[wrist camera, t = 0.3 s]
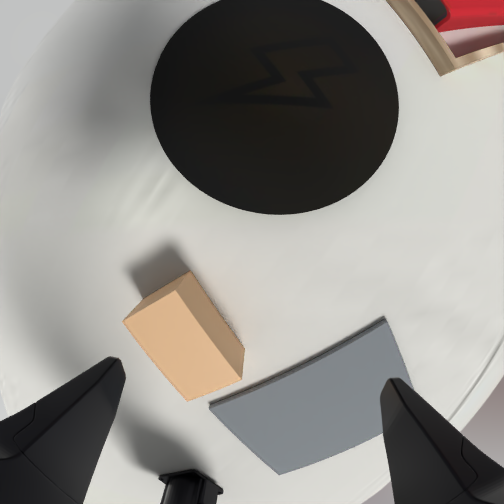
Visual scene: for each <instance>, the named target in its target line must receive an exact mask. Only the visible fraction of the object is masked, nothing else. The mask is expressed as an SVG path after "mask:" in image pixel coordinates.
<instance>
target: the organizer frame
mask: <svg viewBox="0 0 504 504" xmlns="http://www.w3.org/2000/svg"><path fill="white" fill-rule="evenodd" d="M386 1H387V2H388V3H389V4H390V6H391V7H392V8H393V9H394V10H395V12H396V13H397V14H398V15H399V17H400V18H401V19H402V21H403V22H404V23H405V24H406V26H407V27H408V28H409V30H410V31H411V32H412V34H413V35H414V37H415V38H416V39H417V41H418V42H419V44H420V45H421V47H422V48H423V50H424V51H425V53H426V54H427V56H428V57H429V59H430V60H431V62H432V63H433V65H434V67H435V68H436V70H437V72H438V73H439V75H440V76H442V75H445V74H447V73H450V72H452V71H455V70H457V69H459V68H462V67H464V66H467V65H470V64H472V63H475V62H477V61H480V60H483V59H485V58H488V57H491V56H494V55H496V54H499V53H502V52H504V42H503V43H500V44H497V45H494V46H490V47H487V48H484V49H481V50H478V51H475V52H472V53H469V54H466V55H464V56H461V57H458V58H455V56H454V55H453V53H452V52H451V50H450V48H449V47H448V45H447V44H446V42H445V41H444V39H443V38H442V36H441V35H440V34H439V32H438V31H437V29H436V28H435V26H434V25H433V24H432V22H431V21H430V20H429V18H428V17H427V16H426V14H425V13H424V12H423V11H422V9H421V8H420V7H419V5H418V4H417V3H416V2H415V1H414V0H386Z"/></svg>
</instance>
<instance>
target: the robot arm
mask: <svg viewBox="0 0 504 504" xmlns="http://www.w3.org/2000/svg"><path fill="white" fill-rule="evenodd" d="M125 380H126V375H125V371H124V368H123V365H122V362H121V360H120V359H119V358H115V357H107V358H105V359H104V360H102V361H101V362H99V363H98V364H96V365H94V366H93V367H91V368H90V369H88V370H86V371H85V372H83V373H82V374H80V375H78V376H77V377H75V378H74V379H72V380H70V381H69V382H67V383H66V384H64V385H62V386H61V387H59V388H58V389H56V390H54V391H53V392H51V393H50V394H48V395H46V396H45V397H43V398H41V399H40V400H38V401H37V402H36V403H33V404H32V405H30V406H28V407H27V408H25V409H23V410H21V411H20V412H18V413H16V414H14V415H12V416H10V417H8V418H6V419H4V420H2V421H0V504H83V502H84V499H85V496H86V493H87V490H88V487H89V484H90V481H91V479H92V476H93V473H94V470H95V468H96V465H97V462H98V459H99V457H100V454H101V452H102V449H103V446H104V444H105V441H106V439H107V436H108V433H109V431H110V428H111V426H112V423H113V421H114V418H115V416H116V412H117V409H118V405H119V401H120V398H121V394H122V391H123V387H124V384H125ZM380 406H381V416H382V428H383V437H384V443H385V448H386V453H387V459H388V464H389V470H390V476H391V482H392V488H393V495H394V502H395V504H504V468H503V467H502V466H500V465H499V464H497V463H496V462H495V461H494V460H492V459H491V458H489V457H488V456H486V454H484V453H483V452H482V451H480V450H479V449H478V448H477V447H476V446H475V445H473V444H472V443H471V442H470V441H469V440H468V439H467V438H466V437H464V436H463V435H462V434H461V433H460V432H459V431H458V430H457V429H456V428H455V427H454V426H453V425H451V424H450V423H449V422H448V421H447V420H446V419H445V418H444V417H443V416H442V415H441V414H439V413H438V412H437V411H436V410H435V409H434V408H433V407H432V406H431V405H430V404H429V403H427V402H426V401H425V400H424V399H423V398H422V397H421V396H420V395H419V394H418V393H417V392H415V391H414V390H413V389H412V388H411V387H410V386H409V385H408V384H407V383H406V382H404V381H403V380H402V379H401V378H399V377H393V378H388V379H387V381H386V383H385V385H384V387H383V390H382V392H381V394H380ZM158 479H159V480H160V481H162V482H163V483H164V484H166V486H165V489H164V493H163V496H162V500H161V503H160V504H216V502H217V495H220V494H223V490H222V489H221V488H219V487H218V486H216V485H215V484H214V483H212V482H211V481H210V480H208V479H207V478H206V477H204V476H203V475H202V474H200V473H199V472H198V471H196V470H188V471H183V472H178V473H172V474H166V475H160V476H159V478H158Z"/></svg>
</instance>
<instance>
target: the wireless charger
mask: <svg viewBox="0 0 504 504" xmlns="http://www.w3.org/2000/svg"><path fill="white" fill-rule="evenodd" d="M150 105H151V115H152V121H153V125H154V129H155V132H156V134H157V137H158V140H159V142H160V144H161V146H162V148H163V150H164V152H165V153H166V155H167V157H168V158H169V160H170V161H171V162H172V164H173V165H174V166H175V167H176V169H177V170H178V171H179V172H180V173H181V174H182V175H183V176H184V177H185V178H186V179H187V180H188V181H189V182H190V183H191V184H193V185H194V186H195V187H197V188H198V189H199V190H201V191H202V192H204V193H205V194H207V195H208V196H210V197H212V198H214V199H216V200H218V201H220V202H222V203H224V204H227V205H229V206H232V207H235V208H238V209H242V210H245V211H250V212H255V213H262V214H273V215H285V214H297V213H303V212H309V211H313V210H317V209H320V208H323V207H326V206H329V205H331V204H333V203H335V202H338V201H339V200H341V199H343V198H345V197H347V196H348V195H350V194H351V193H353V192H354V191H356V190H357V189H358V188H359V187H361V186H362V185H363V184H364V183H365V182H366V181H367V180H369V178H370V177H371V176H372V175H373V174H374V173H375V172H376V170H377V169H378V168H379V167H380V165H381V164H382V162H383V160H384V159H385V157H386V155H387V153H388V151H389V150H390V147H391V145H392V142H393V139H394V136H395V133H396V128H397V123H398V114H399V101H398V92H397V86H396V82H395V78H394V75H393V72H392V69H391V67H390V64H389V62H388V60H387V58H386V56H385V55H384V53H383V51H382V49H381V48H380V46H379V45H378V44H377V42H376V41H375V40H374V38H373V37H372V36H371V35H370V34H369V33H368V32H367V31H366V29H365V28H364V27H362V26H361V25H360V24H359V23H358V22H357V21H356V20H354V19H353V18H352V17H351V16H349V15H348V14H346V13H345V12H343V11H342V10H340V9H338V8H336V7H335V6H333V5H331V4H329V3H326V2H324V1H322V0H220V1H218V2H216V3H214V4H212V5H210V6H208V7H206V8H204V9H203V10H201V11H200V12H198V13H197V14H195V15H194V16H193V17H191V18H190V19H189V20H188V21H187V22H185V23H184V24H183V25H182V26H181V27H180V28H179V29H178V30H177V32H176V33H175V34H174V35H173V36H172V38H171V39H170V40H169V42H168V43H167V45H166V46H165V48H164V50H163V52H162V54H161V56H160V58H159V60H158V62H157V65H156V68H155V71H154V75H153V79H152V84H151V93H150Z"/></svg>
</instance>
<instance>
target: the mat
mask: <svg viewBox="0 0 504 504" xmlns="http://www.w3.org/2000/svg"><path fill="white" fill-rule="evenodd" d="M393 377H399V378H401V379H402V380H403V381H404V382H406V383H407V384H408V385H409V386H410V387H411V388H412V389H413V386H412V383H411V380H410V377H409V375H408V372H407V369H406V367H405V364H404V361H403V359H402V356H401V354H400V351H399V348H398V346H397V343H396V341H395V338H394V336H393V334H392V331H391V329H390V326H389V324H388V322H387V320H386V319H384V320H382V321H380V322H379V323H377V324H376V325H374V326H372V327H371V328H369V329H367V330H365V331H364V332H362V333H360V334H359V335H357V336H355V337H353V338H352V339H350V340H348V341H346V342H345V343H343V344H341V345H339V346H337V347H335V348H334V349H332V350H330V351H328V352H326V353H324V354H322V355H320V356H318V357H317V358H315V359H313V360H311V361H309V362H307V363H305V364H303V365H301V366H299V367H297V368H295V369H293V370H290V371H288V372H286V373H284V374H282V375H280V376H278V377H276V378H273V379H271V380H269V381H267V382H265V383H262V384H260V385H258V386H255V387H253V388H251V389H248V390H246V391H244V392H241V393H239V394H236V395H234V396H232V397H229V398H227V399H224V400H221V401H219V402H216V403H214V404H211V405H210V406H209V410H210V411H211V412H212V413H213V414H214V415H215V416H216V417H217V418H218V419H219V420H220V421H221V422H222V423H223V424H224V425H225V426H226V427H227V428H228V429H229V430H230V431H231V432H232V433H233V434H234V435H235V436H236V437H237V438H238V439H239V440H240V441H241V442H242V443H243V444H245V445H246V446H247V447H248V448H249V449H250V450H251V451H252V452H253V453H254V454H255V455H256V456H258V457H259V458H260V459H261V460H262V461H263V462H264V463H265V464H267V465H268V466H269V467H270V468H271V469H272V470H274V471H275V472H276V473H277V474H278V475H281V474H284V473H288V472H291V471H294V470H297V469H300V468H303V467H305V466H308V465H311V464H314V463H316V462H319V461H322V460H324V459H327V458H329V457H332V456H334V455H337V454H339V453H341V452H344V451H346V450H348V449H350V448H353V447H355V446H357V445H359V444H361V443H363V442H366V441H368V440H370V439H372V438H374V437H376V436H378V435H380V434H382V433H383V428H382V416H381V406H380V394H381V392H382V390H383V387H384V385H385V383H386V381H387V379H388V378H393ZM413 390H414V389H413Z"/></svg>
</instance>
